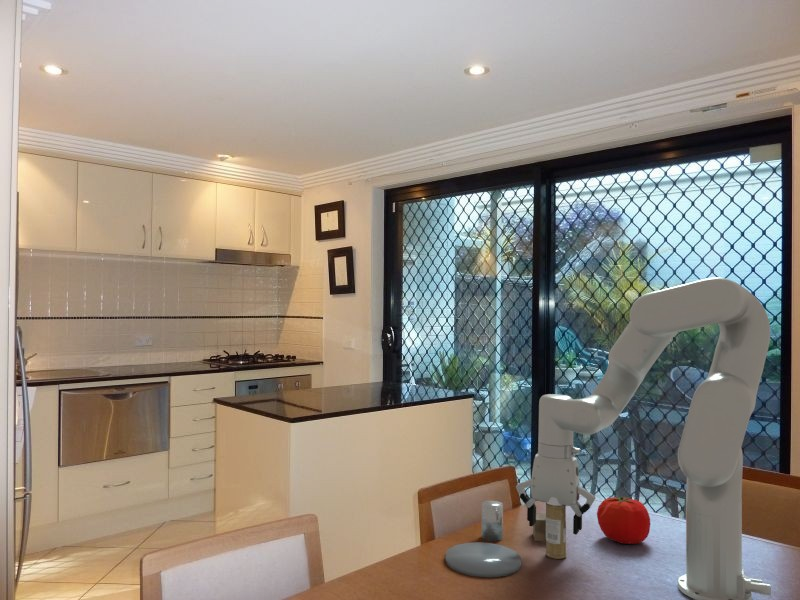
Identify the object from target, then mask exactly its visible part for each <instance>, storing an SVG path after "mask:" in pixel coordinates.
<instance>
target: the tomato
mask: <svg viewBox="0 0 800 600" xmlns="http://www.w3.org/2000/svg"><path fill="white" fill-rule="evenodd" d="M633 496H634V495H630V496H628V497H624V496H617V497H615V496H612V497H608V498H605V499H604V500H603V501H601V503H599V505H598V507H597V510H596V517H597V522H598V523H597V524H598V525H599V528H600V530H601V532H602V533H603V535H604V536H605V537H607V538H608V539H609V540H612V541H615V542H617V543H620V544H629V545H636V544H639V543H642V542H644V541H645V540H646V539H647V538H648V536H649V534H650V531H651V530H650V529H651V516H650V514H649V511H648V509H647V508H646V506H645V505H644V504H643V502H641V501H639V500H637V499H632V498H631V497H633Z"/></svg>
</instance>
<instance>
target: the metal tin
mask: <svg viewBox="0 0 800 600" xmlns="http://www.w3.org/2000/svg"><path fill="white" fill-rule="evenodd" d="M482 538H483V540H484V539H485V540H484V541H489V542H500V541H502V540H503V539H504V503H503V502H501V501H498V500H484V501H482V502H481V539H482Z"/></svg>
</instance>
